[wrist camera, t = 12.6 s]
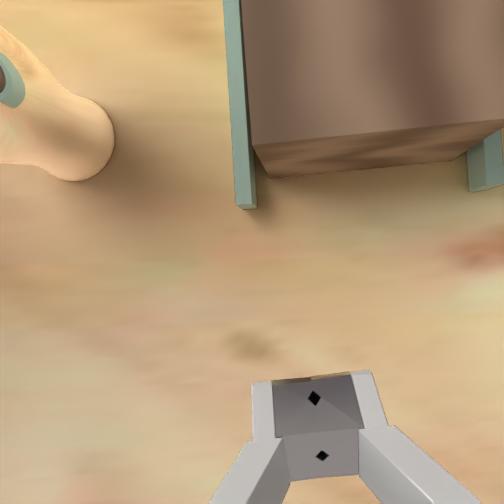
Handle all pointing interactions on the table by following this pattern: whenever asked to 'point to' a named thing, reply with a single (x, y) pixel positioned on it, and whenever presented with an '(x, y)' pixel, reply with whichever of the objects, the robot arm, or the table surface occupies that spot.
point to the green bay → (478, 157)
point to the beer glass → (48, 119)
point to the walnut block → (371, 81)
